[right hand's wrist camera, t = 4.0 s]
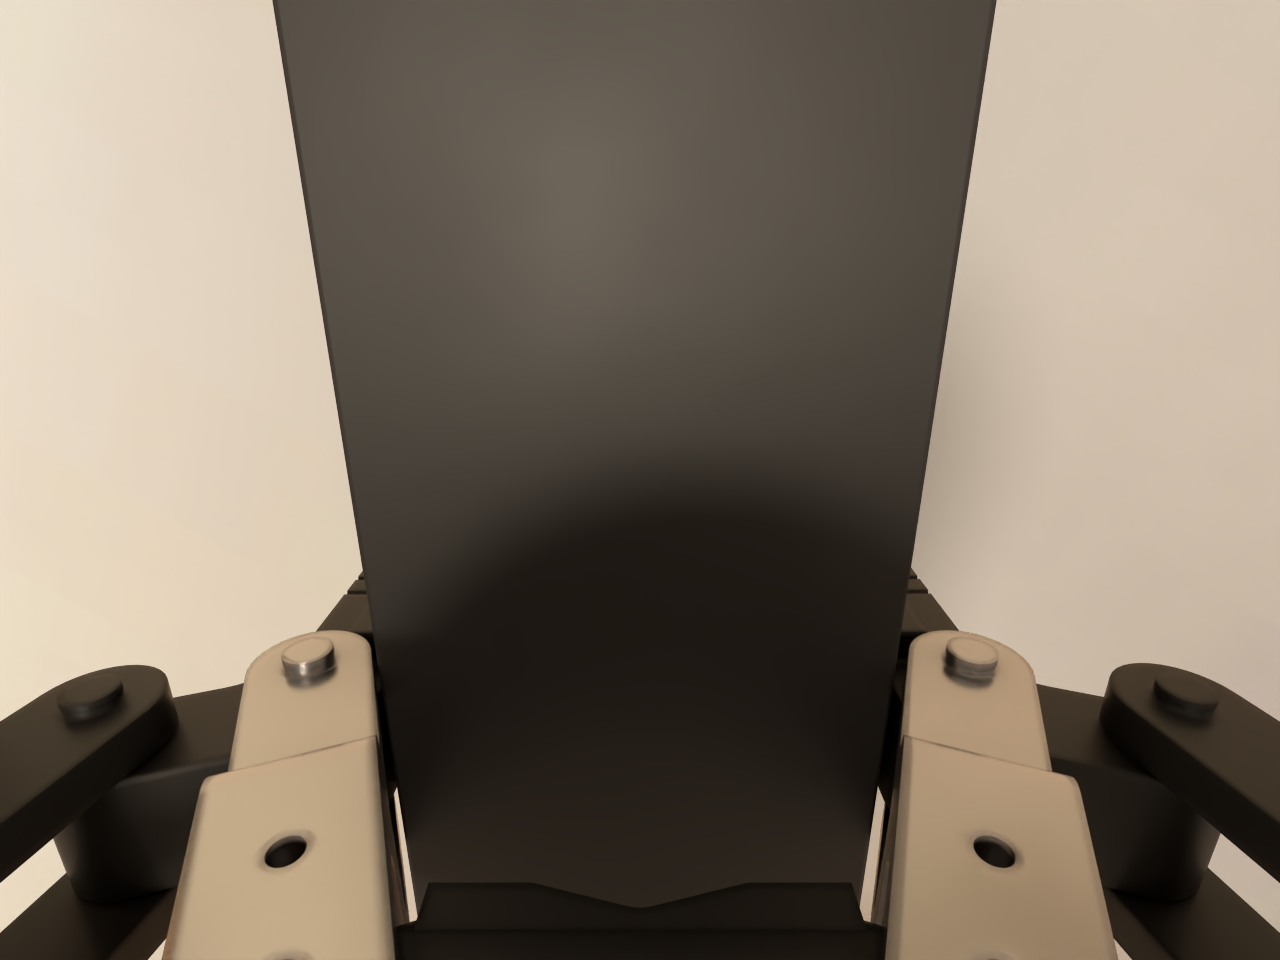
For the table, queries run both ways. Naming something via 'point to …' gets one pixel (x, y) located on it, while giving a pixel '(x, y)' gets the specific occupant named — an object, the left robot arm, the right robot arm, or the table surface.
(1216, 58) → the table surface
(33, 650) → the table surface
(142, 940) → the right robot arm
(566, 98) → the bar
